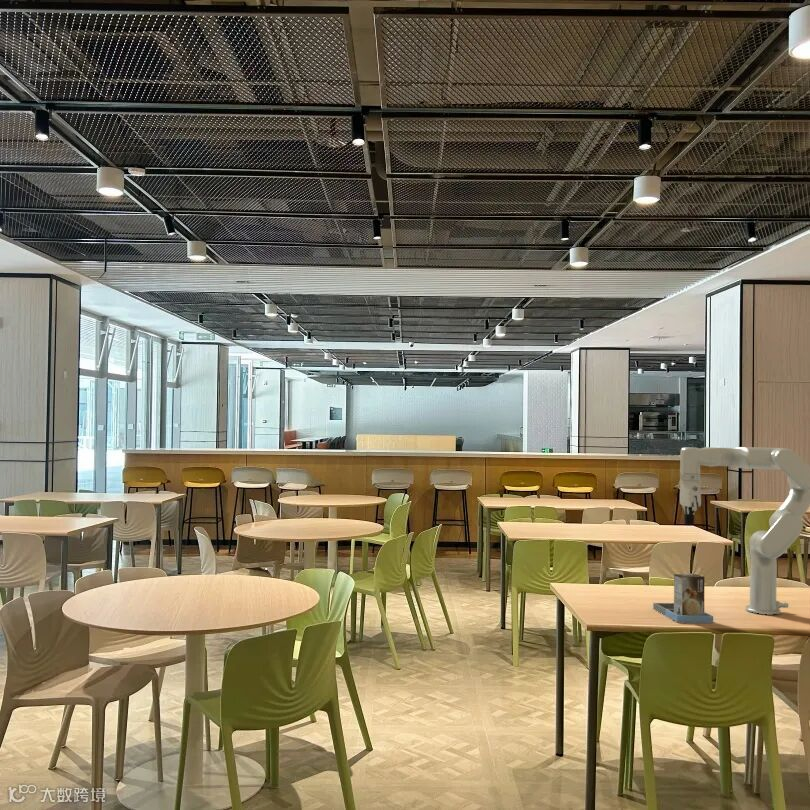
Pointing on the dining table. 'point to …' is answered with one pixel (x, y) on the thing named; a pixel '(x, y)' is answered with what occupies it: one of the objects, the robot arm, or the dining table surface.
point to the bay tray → (668, 611)
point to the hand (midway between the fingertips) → (689, 524)
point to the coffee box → (689, 594)
